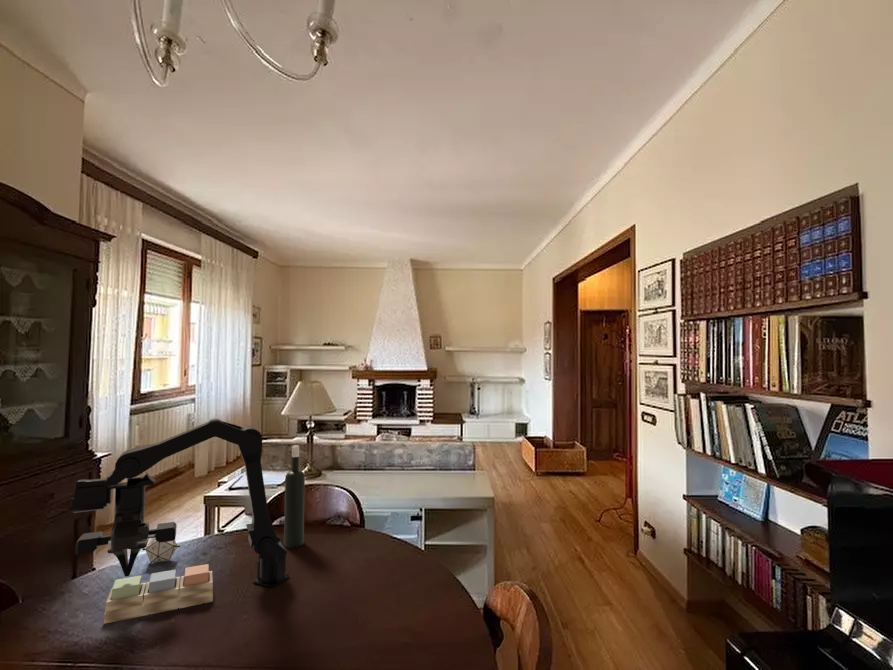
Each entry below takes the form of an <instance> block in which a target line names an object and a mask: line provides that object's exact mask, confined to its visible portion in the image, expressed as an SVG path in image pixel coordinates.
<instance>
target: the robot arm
mask: <svg viewBox="0 0 893 670" xmlns="http://www.w3.org/2000/svg"><path fill="white" fill-rule="evenodd" d="M211 438H218V439H221V440H223V441H226V442H228V443H231V444H234V445H237V448H238V450H239V452H240V456H241V458H242V460H243V463H244V468H245V469H244V470H245V474H246V475H245V477H246V482H247V488H248V495H249V502H250V508H251V515H252V517H251V519H252V520H251V523H247V524H245V526H246V528H247V531H248V537H247V540H248V543H249V546H250V548H251V549H252V548H254V549H253V550H254V552H255V554H257V555H258V560H257V564H256V565H257V567H256V568H257V569H256V570H257V571H256V577H257V578H255V579H253V583H254V584H256V585H260V586H265V587H268V588H274V587H275V586H277V585H279V584H280V583H282V582H283V581H285V580H287V579H289V578H290V576H291V575H290V574H287V573H286V567H287V565H286V564H287V563H286V562H287V561H286V560H287V552H288V551H287V549H286V547H285V546H284V542H283V541H282V539H281V538H279V537H278V536H277V533H276V531H275V528H274V525H273V523H272V520H271V518H270V513H269V509H268V502H267V495H266V494H267V493H266V489H265V483H264V475H263V470H262V469H263V468H262V453H263V435H262V433H261V432H260V431H259V430H258V429H257V428H256V427H254V425H253V426H252V425H245V426H240V425H237V424H233V423H230V422H226V421H223V420H221V419H219V418H212V419H210V420H208V421H207V422H204V423H203V424H202V423H201V424H200V425H197V426H195V427H192V428H190V429H188V430H185V431H183V432H181V433H177V434H176V435H174V436H171V437H169V438H165V439H164V440H162V441H159V442H155V443H150V444H145V445H140V446H136V447H133V448H130V449H129V448H128V449H126V450H124V451H123V452H122V453H120V455H119V456H118V458H117V460H116V462H115V464H114V469H113V471H111V472H109V474H108V475H107V477H106V478H95V479H78V480H77V481H76V482H75V489H74V491H73V492H74V493H73V497H72V500H71V510H72V513H73V514H77V513H83V512H84V513H85V512H92V511H93V512H94V511H99V510H102V511H103V510H106V508H107V506H108V505H111V504H112V501H113V495H115V498H114V499H115V500H114V519H113V520H114V521H113V525H112V527H111V532H110V533H111V534H108V535H107V534H106V535H103V531H102V530H101V531H95V532H94V531H93V532H86V533H83V534H81V535H80V537H79V538H78V540H77V541H76V543H75V549H74V555H78V556H80V555H85V554H93V552H95V550H97V549H98V547H100V546H105V545H107V547H108V549H107V554H112V555H114V556H115V557H116V558H117V560H118V563H119V564H120V568H121V570H122V572H123V574H124V578H128V577H131V576H130V575H131V572H132V570H133V567H134V564H135V561H136V558H137V557H138V555H139V553H140V551H141V550H142V549H143V548H145V549H146V547H147V546H148V544H149V539H152V538H156V539H155V540H156V541H158V542H159V543H161V542H168V541H173V540H175V541H176V538H177V525H178V524H177V523H176V522H175V521H169V522H163V523H157V526H156V528H153V529H152V528H151V529H150V522H145V508H146V507H145V503H146V486H152V485H154V484H155V481H156V479H155V478H154V477H152V476H151V475H150V474H149V472H146V471H149V469H151V468H152V467H154V466H155V465H157V464H158V463H160V462H161V461H162V460H164V459H166V458H168V457H171V456H173V455H175V454H177V453H180V452H183V451H184V450H187V449H188V448H191V447H194V446H196V445H198V444H200V443H203V442H205V441H208V440H209V439H211ZM144 472H146V473H145V474H144V475H143V476H139V475H141V474H143V473H144ZM138 476H139V477H138ZM125 479H127V481H125ZM114 490H115V493H114V492H113V491H114ZM128 550H130V552H129V553H128ZM128 554H129V555H128ZM128 557H129V558H128Z"/></svg>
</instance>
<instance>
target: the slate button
mask: <svg viewBox="0 0 893 670" xmlns="http://www.w3.org/2000/svg"><path fill="white" fill-rule="evenodd" d="M176 570H177V569H171V570H166V571H159V572H153V573H150V574H151V575H150V579H149V581H148V582H149V593H152V592H157V591H163V590H168V589H174V588H175V583H176V577H177V571H176Z"/></svg>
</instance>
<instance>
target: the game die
mask: <svg viewBox="0 0 893 670" xmlns="http://www.w3.org/2000/svg"><path fill="white" fill-rule="evenodd" d="M155 539H156V538H150V541H149V542H148V543H147V546H146V548H143V549H141V550H142V551H145V553H146V554H147V556H148V559H149V561H150V562H149V564H148V566H152V564H153V563H161V562H168V563H169V564H171V562H172V561H171V559H172V557H173V555H174V553H175V551H176V550H177V549H178V548H180V547H181V545H178V544H177V542H176V539H175V540H173V541H168V542H161V543H159V542H158V541H156V540H155Z"/></svg>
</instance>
